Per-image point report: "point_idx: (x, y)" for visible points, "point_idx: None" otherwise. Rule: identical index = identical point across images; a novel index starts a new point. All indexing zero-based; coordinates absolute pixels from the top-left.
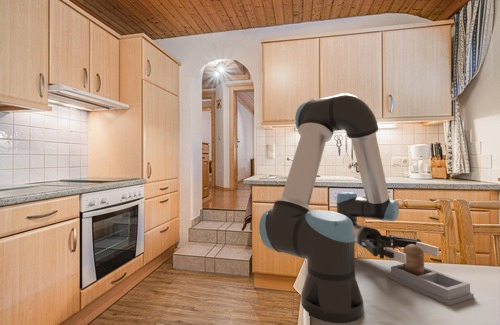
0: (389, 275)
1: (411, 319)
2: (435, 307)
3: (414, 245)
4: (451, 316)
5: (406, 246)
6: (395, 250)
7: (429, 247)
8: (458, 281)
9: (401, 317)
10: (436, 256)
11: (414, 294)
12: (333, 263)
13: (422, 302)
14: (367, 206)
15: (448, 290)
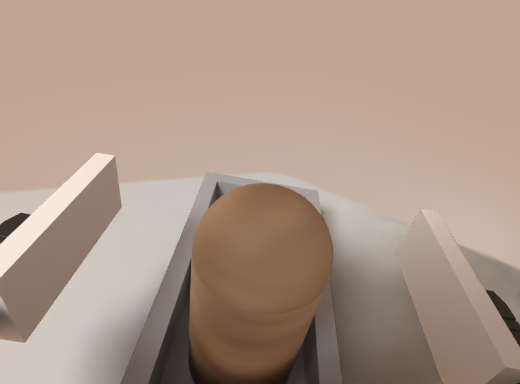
0: None
1: (461, 248)
2: (353, 238)
3: (282, 190)
4: (351, 210)
5: (313, 244)
6: (457, 269)
7: (88, 198)
8: (213, 191)
9: (485, 263)
10: (118, 209)
11: (348, 302)
12: None
13: (367, 265)
14: None
15: (315, 191)
